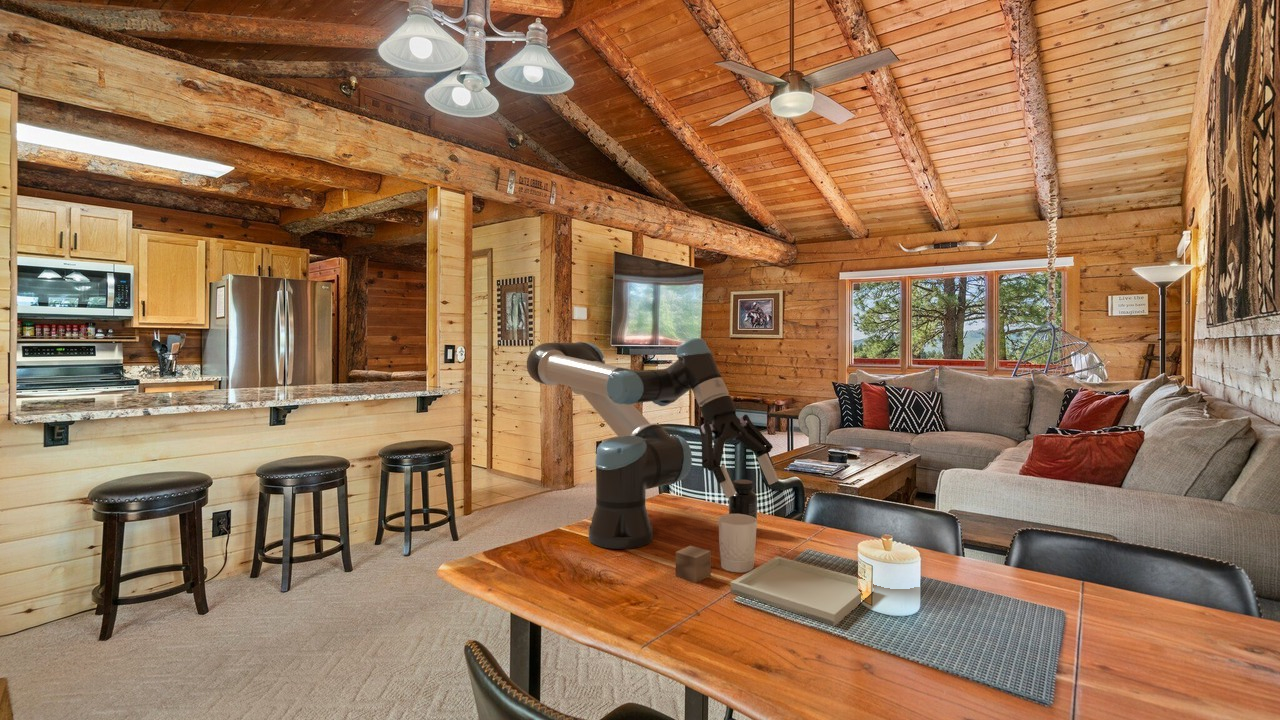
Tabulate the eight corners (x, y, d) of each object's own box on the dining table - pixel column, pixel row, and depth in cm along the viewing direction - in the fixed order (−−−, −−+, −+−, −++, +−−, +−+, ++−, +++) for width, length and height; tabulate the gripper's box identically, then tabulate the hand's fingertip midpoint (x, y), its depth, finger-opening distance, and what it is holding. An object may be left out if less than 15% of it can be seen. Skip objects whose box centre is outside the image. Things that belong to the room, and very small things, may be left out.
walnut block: (675, 576, 121) (675, 552, 121) (690, 569, 125) (690, 545, 125) (696, 583, 118) (696, 558, 118) (710, 575, 122) (710, 551, 122)
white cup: (759, 574, 123) (760, 525, 122) (720, 573, 123) (720, 524, 122) (753, 560, 130) (753, 513, 130) (716, 559, 131) (716, 513, 130)
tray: (730, 592, 114) (730, 582, 113) (777, 565, 127) (777, 556, 127) (834, 626, 100) (834, 614, 100) (873, 592, 114) (874, 581, 114)
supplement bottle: (753, 525, 155) (753, 478, 154) (759, 534, 148) (760, 484, 147) (726, 525, 154) (726, 478, 154) (731, 534, 147) (732, 485, 147)
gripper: (683, 401, 129) (723, 496, 122) (762, 387, 144) (801, 471, 137) (664, 416, 135) (701, 507, 128) (742, 401, 150) (779, 482, 143)
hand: (753, 489), depth 132 cm, fingers open, 13 cm apart
